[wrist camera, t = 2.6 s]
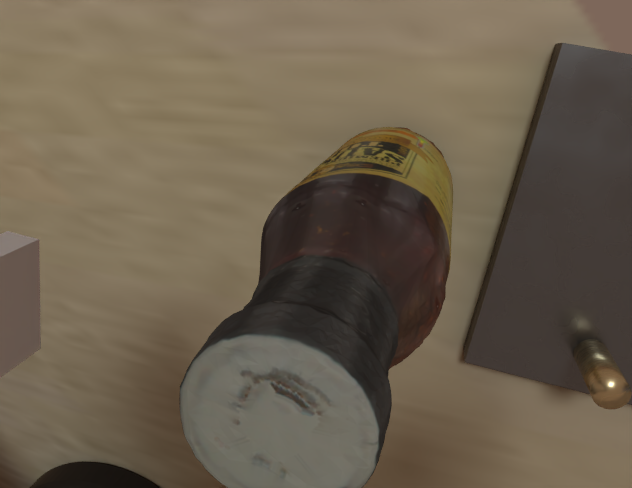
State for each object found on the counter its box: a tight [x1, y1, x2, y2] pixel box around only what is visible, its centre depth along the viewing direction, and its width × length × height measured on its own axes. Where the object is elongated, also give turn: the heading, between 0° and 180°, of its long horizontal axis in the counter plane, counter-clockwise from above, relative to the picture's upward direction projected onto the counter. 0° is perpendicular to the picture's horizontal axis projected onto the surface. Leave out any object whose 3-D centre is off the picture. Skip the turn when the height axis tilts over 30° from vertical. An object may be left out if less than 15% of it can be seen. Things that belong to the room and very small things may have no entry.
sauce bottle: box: [180, 127, 453, 488], centre depth 19 cm, size 6×6×20 cm
